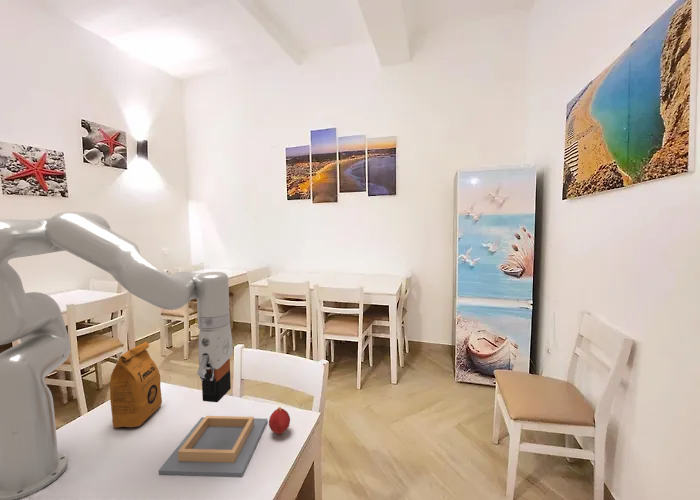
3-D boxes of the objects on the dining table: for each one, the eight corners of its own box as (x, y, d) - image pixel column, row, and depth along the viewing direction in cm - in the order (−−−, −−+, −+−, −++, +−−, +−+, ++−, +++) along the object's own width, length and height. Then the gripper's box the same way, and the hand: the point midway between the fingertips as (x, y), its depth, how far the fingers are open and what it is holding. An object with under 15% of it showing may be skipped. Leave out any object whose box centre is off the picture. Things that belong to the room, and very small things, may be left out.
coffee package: (168, 405, 101) (164, 340, 99) (139, 431, 88) (134, 357, 86) (139, 404, 101) (134, 339, 99) (106, 429, 89) (100, 356, 87)
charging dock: (158, 474, 73) (157, 460, 73) (201, 420, 93) (201, 409, 93) (242, 476, 73) (241, 462, 72) (267, 421, 93) (267, 410, 92)
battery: (231, 389, 85) (230, 353, 84) (217, 403, 78) (216, 365, 77) (216, 387, 85) (215, 352, 84) (201, 402, 79) (200, 364, 78)
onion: (267, 430, 89) (266, 404, 88) (286, 424, 91) (286, 398, 91) (272, 443, 84) (271, 415, 83) (292, 436, 86) (292, 409, 86)
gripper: (212, 332, 71) (215, 406, 73) (241, 310, 88) (243, 370, 90) (180, 332, 71) (184, 405, 73) (215, 310, 89) (217, 370, 90)
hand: (216, 385), depth 81 cm, fingers closed on battery, 7 cm apart
